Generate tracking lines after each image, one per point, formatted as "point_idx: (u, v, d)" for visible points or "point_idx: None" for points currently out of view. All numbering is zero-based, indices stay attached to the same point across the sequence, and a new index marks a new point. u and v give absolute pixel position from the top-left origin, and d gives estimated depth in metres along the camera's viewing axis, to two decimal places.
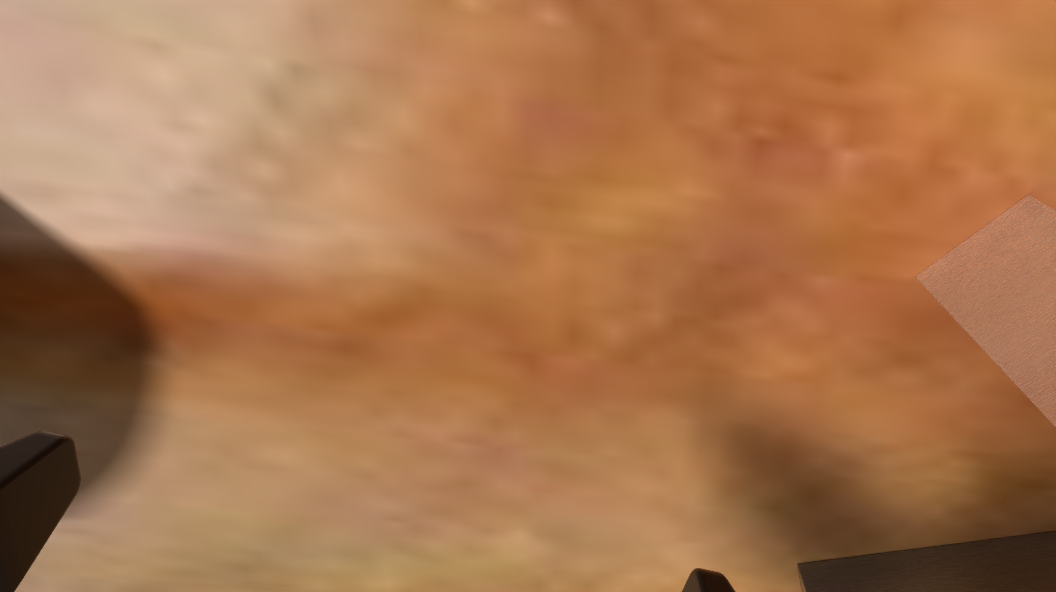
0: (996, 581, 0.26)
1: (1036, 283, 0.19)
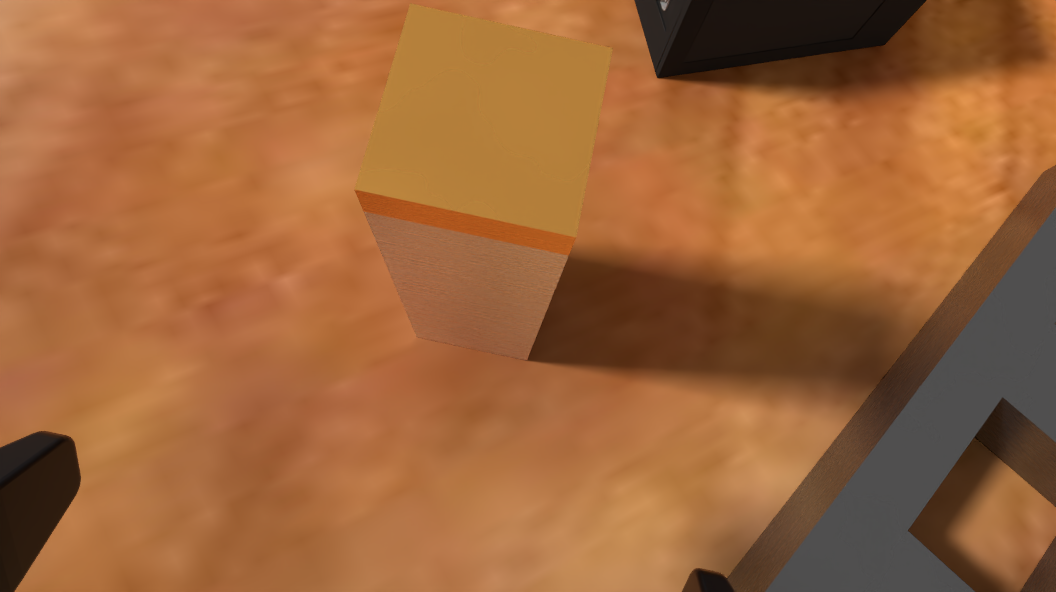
0: (755, 580, 0.21)
1: None
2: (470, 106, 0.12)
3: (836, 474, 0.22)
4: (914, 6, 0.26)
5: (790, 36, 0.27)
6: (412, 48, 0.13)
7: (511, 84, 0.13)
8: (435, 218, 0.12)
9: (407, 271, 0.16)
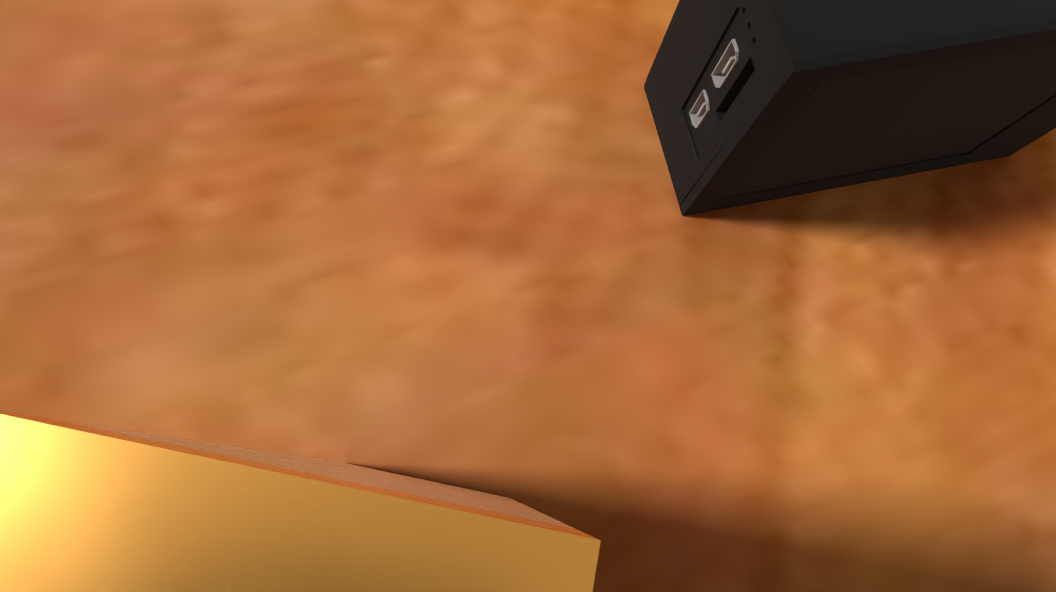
0: None
1: None
2: None
3: None
4: None
5: (883, 158, 0.18)
6: None
7: None
8: None
9: None
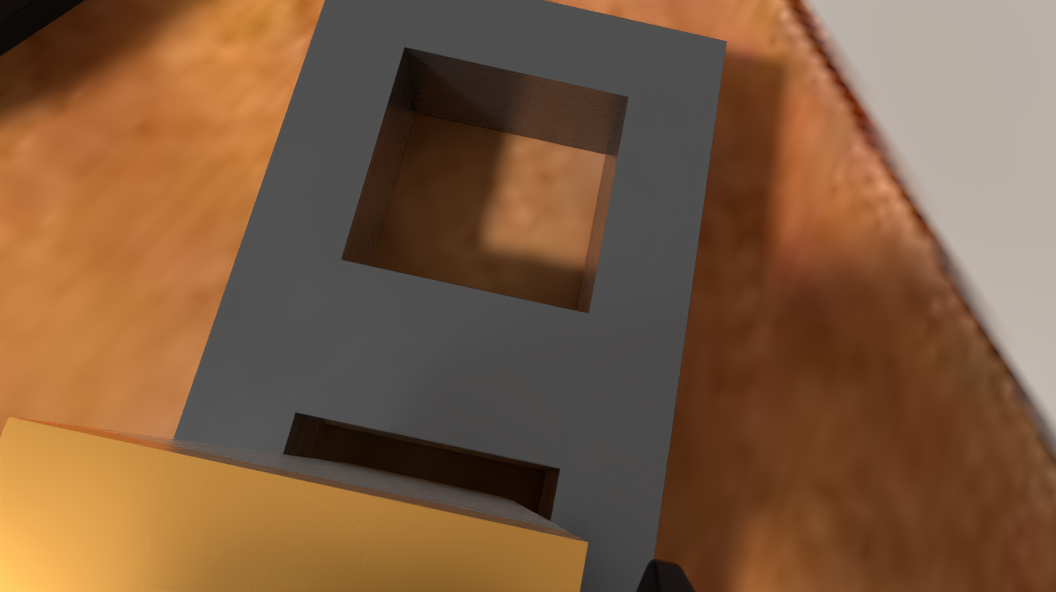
0: None
1: None
2: None
3: None
4: None
5: None
6: None
7: None
8: None
9: None
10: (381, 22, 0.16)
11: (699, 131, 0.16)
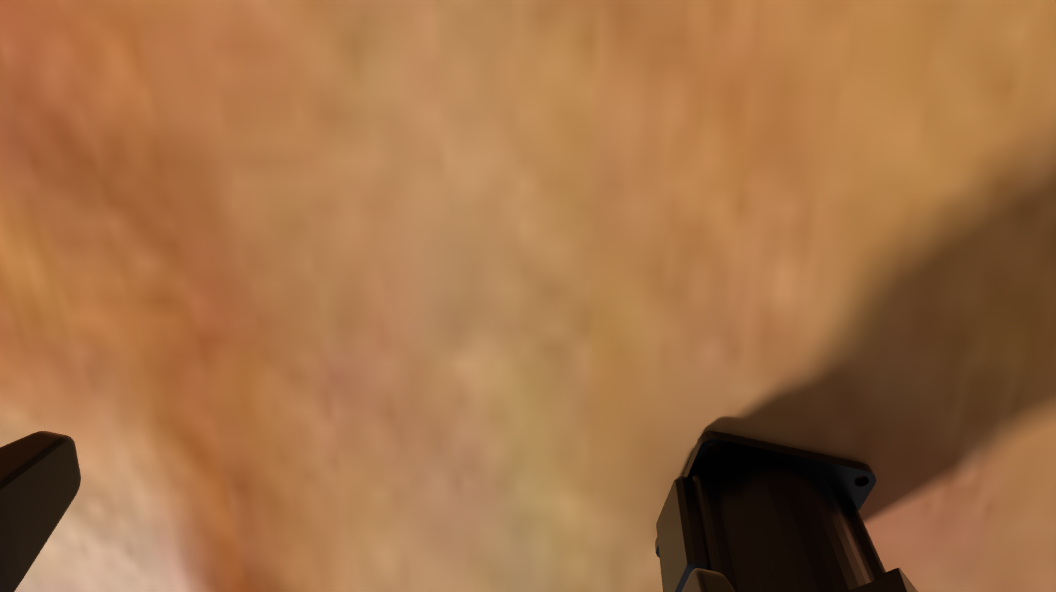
0: None
1: None
2: None
3: None
4: None
5: None
6: None
7: None
8: None
9: None
10: None
11: None
